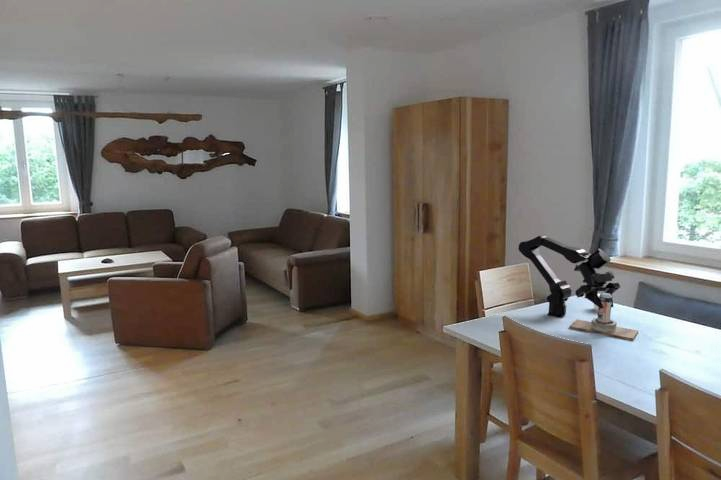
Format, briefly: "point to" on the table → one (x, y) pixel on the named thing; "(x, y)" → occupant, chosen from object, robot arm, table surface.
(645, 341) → the table surface
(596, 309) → the white cup
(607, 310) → the beer can
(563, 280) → the robot arm
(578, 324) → the socket board
